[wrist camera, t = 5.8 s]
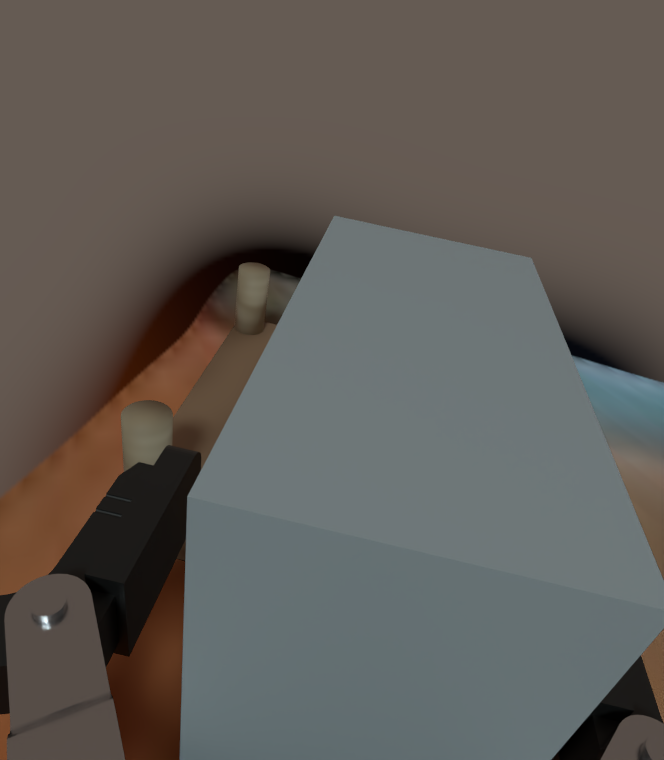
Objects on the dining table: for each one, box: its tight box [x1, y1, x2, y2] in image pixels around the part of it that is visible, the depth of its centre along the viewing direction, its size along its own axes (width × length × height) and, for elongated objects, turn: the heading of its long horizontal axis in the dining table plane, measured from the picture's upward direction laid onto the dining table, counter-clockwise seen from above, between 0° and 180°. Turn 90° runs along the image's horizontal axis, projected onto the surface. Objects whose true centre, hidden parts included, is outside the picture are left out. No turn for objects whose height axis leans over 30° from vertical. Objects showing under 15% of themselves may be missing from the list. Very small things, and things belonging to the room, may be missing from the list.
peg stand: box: [121, 263, 277, 561], centre depth 25 cm, size 10×15×6 cm, turn 171°
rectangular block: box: [180, 216, 664, 760], centre depth 12 cm, size 4×8×14 cm, turn 171°
